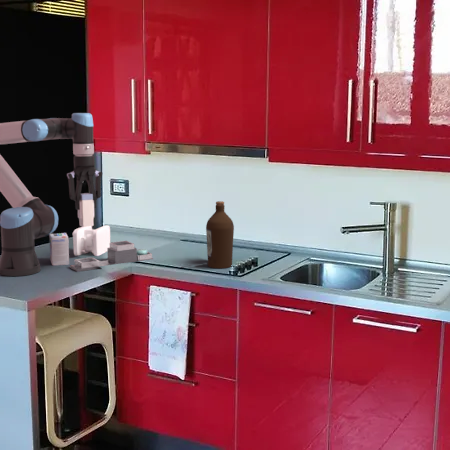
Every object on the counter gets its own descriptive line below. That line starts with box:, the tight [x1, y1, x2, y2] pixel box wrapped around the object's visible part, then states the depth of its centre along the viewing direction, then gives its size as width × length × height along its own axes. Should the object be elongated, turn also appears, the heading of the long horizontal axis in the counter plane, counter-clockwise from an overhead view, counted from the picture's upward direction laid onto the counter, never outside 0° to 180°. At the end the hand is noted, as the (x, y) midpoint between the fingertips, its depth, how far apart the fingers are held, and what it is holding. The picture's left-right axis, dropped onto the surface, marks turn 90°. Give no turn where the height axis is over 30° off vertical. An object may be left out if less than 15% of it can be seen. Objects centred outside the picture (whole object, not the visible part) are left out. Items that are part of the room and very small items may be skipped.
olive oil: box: [205, 200, 235, 270], centre depth 266 cm, size 11×11×25 cm
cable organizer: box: [72, 224, 111, 257], centre depth 286 cm, size 15×11×12 cm
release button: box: [137, 248, 148, 255], centre depth 276 cm, size 4×4×2 cm
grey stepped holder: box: [69, 240, 154, 273], centre depth 269 cm, size 32×8×8 cm, turn 123°
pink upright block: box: [78, 192, 95, 227], centre depth 261 cm, size 4×5×12 cm
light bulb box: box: [48, 232, 70, 266], centre depth 273 cm, size 11×7×11 cm, turn 18°
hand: (86, 217), depth 261 cm, fingers closed on pink upright block, 4 cm apart
